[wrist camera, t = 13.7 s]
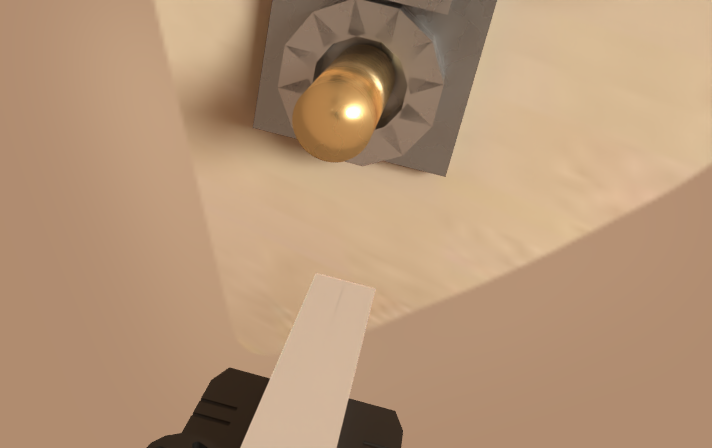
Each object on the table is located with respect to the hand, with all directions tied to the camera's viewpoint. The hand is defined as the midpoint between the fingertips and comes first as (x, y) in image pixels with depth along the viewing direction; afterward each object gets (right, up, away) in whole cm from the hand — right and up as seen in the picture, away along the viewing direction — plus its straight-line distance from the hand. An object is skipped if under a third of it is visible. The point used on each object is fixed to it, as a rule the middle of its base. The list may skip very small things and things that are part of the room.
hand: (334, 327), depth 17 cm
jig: (+2, +16, +25) cm, 30 cm away
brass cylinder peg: (+1, +12, +25) cm, 27 cm away
